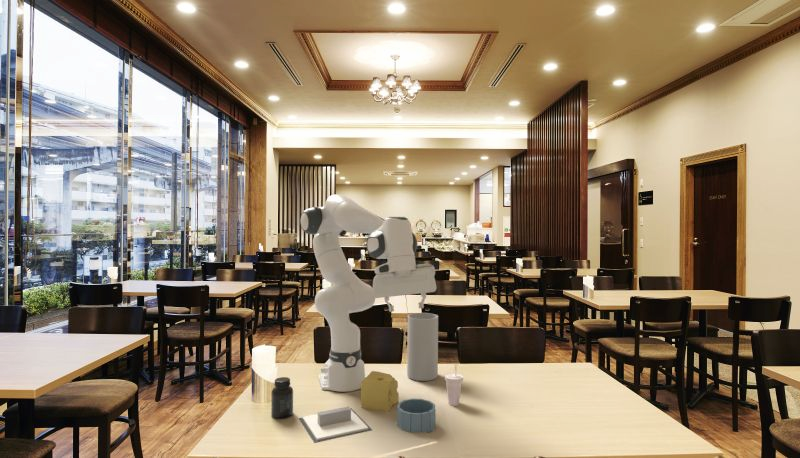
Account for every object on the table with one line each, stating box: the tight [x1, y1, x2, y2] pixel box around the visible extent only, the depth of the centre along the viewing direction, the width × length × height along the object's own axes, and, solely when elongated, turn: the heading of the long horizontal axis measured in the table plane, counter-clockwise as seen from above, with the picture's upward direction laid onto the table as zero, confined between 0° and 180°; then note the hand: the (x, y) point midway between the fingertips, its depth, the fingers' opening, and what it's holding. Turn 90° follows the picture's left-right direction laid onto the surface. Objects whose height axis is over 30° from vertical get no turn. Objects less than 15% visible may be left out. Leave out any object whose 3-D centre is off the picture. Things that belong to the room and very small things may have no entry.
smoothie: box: [444, 363, 464, 407], centre depth 158 cm, size 6×6×14 cm
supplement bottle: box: [270, 376, 294, 420], centre depth 147 cm, size 7×7×12 cm
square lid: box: [301, 406, 368, 440], centre depth 141 cm, size 16×16×4 cm
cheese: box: [360, 370, 400, 412], centre depth 156 cm, size 10×11×10 cm
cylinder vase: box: [406, 312, 439, 382], centre depth 186 cm, size 12×12×25 cm
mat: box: [298, 407, 373, 444], centre depth 141 cm, size 18×18×1 cm
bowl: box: [396, 398, 436, 434], centre depth 141 cm, size 12×12×6 cm
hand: (406, 309), depth 142 cm, fingers open, 8 cm apart
